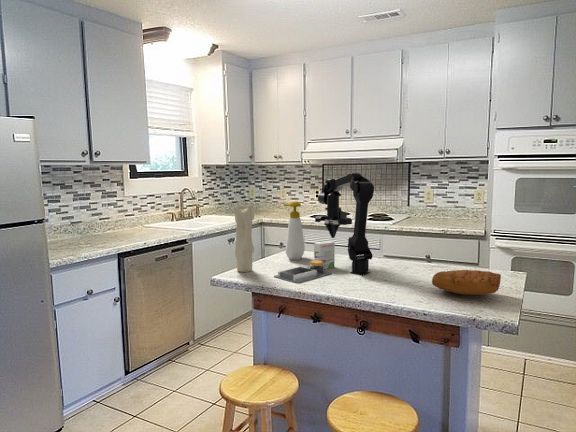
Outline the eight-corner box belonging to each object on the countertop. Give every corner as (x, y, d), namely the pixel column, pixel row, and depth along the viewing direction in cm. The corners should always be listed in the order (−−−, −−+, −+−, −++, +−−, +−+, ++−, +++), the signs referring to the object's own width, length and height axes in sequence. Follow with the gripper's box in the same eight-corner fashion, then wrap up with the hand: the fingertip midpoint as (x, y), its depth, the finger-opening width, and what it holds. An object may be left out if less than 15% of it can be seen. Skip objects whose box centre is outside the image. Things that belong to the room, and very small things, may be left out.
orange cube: (323, 269, 184) (323, 261, 183) (317, 271, 181) (317, 263, 180) (316, 268, 187) (316, 260, 187) (309, 269, 184) (309, 261, 184)
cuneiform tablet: (503, 292, 150) (504, 271, 150) (495, 305, 137) (496, 281, 136) (440, 283, 163) (441, 263, 162) (427, 294, 149) (427, 272, 148)
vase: (258, 270, 189) (256, 203, 186) (245, 274, 182) (244, 205, 179) (243, 267, 194) (241, 203, 190) (230, 271, 187) (229, 204, 183)
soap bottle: (291, 255, 220) (290, 200, 217) (308, 257, 215) (308, 200, 212) (278, 260, 209) (277, 202, 206) (296, 262, 204) (295, 202, 201)
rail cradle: (332, 273, 180) (332, 267, 180) (297, 283, 166) (297, 276, 166) (308, 268, 190) (308, 263, 190) (274, 277, 176) (273, 271, 176)
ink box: (328, 265, 196) (328, 240, 195) (335, 267, 192) (335, 242, 191) (313, 268, 192) (313, 242, 190) (320, 270, 188) (320, 244, 186)
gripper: (359, 205, 198) (359, 238, 200) (329, 203, 212) (329, 234, 213) (344, 207, 191) (344, 240, 192) (314, 204, 204) (314, 236, 206)
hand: (333, 237), depth 201 cm, fingers closed
